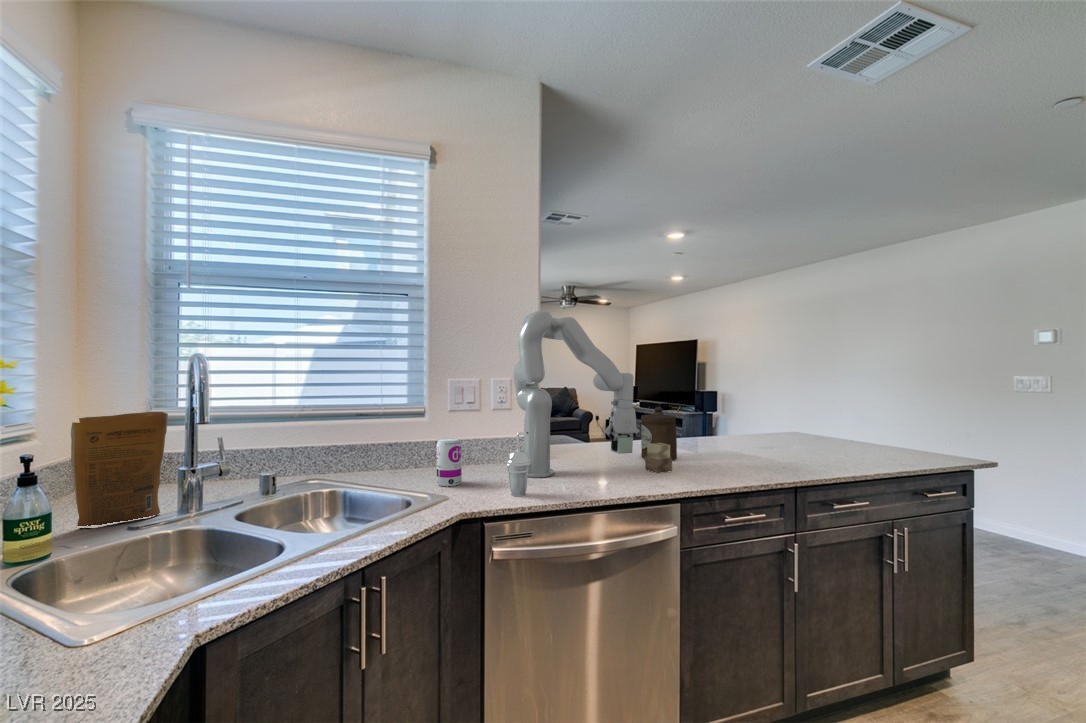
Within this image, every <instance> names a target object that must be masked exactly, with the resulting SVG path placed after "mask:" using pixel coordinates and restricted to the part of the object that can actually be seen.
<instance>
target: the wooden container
mask: <svg viewBox="0 0 1086 723" xmlns="http://www.w3.org/2000/svg"><path fill="white" fill-rule="evenodd" d="M640 417H641V420H640V421H641V422H640V423H641V426H640V428H641V431H640V432H641V433H640V435H641V436H640V437H641V438H640V440H641V441H640V442H641V443H640V444H641V445H640V446H641V458H642V459H643V458H644V459H643V460H645V457H647V444H651V443H663V444H668V445H670V458H672V461H675V459H676V460H677V458H678V453H677V452H678V450H677V449H678V444H677V443H678V442H677V441H678V440H677V416H676V415H672V414H671V415H670V414H664V413H663V408H662V407H661V406H656V407H654V412H653V413H652V414H642V415H641V416H640Z"/></svg>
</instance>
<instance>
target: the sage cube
mask: <svg viewBox="0 0 1086 723" xmlns="http://www.w3.org/2000/svg"><path fill="white" fill-rule="evenodd" d="M616 441H617V451H613V450H612V449H611V448H610V452H612V453H616V454H618V455H620V454H621V455H623V454H633V443H634V442H633V441H634V440H633V438H632V437H628V436H626V435H618V437H617V439H616Z"/></svg>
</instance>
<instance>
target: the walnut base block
mask: <svg viewBox="0 0 1086 723" xmlns="http://www.w3.org/2000/svg"><path fill="white" fill-rule="evenodd" d="M644 466H645V468H644V470H645V469H646V471H648V470H650V471H649V472H651V471H653V472H652V473H654V472H656V473H655V474H661V473H660V472H664V473H669V472H668V471H673V460H672V458H668V459H659V460H657V459H653V458H649V457H645V459H644Z"/></svg>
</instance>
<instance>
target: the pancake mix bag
mask: <svg viewBox="0 0 1086 723" xmlns="http://www.w3.org/2000/svg"><path fill="white" fill-rule="evenodd" d="M168 416H169V413H167V412H164V411H145V412H134V413H133V412H131V413H123V414H122V413H121V414H115V415H114V414H113V415H102V416H100V415H99V416H86V417H79V418H78V420H79V422H73V421H72V423H71V427H70V439H71V442H70V455H71V456H70V464H71V466H72V469H71V470H72V471H71V473H72V479H73V485H74V493H75V504H76V508H77V514H78V521H77V524H76V527H77V526H87V525H88V526H91V525H102V524H107V523H113V522H120V521H128V520H133V519H138V518H143V517H149V516H153V515H156V514H159V513H161V510H160V505H159V500H158V498H159V496H158V495H159V489H160V484H161V467H162V462H163V460H164V459H163V458H164V453H165V444H166V443H165V442H166V434H167V431H168V430H167V429H168V418H169V417H168ZM159 515H160V514H159Z"/></svg>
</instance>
